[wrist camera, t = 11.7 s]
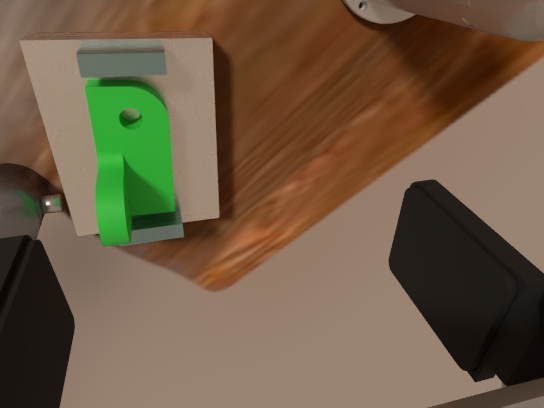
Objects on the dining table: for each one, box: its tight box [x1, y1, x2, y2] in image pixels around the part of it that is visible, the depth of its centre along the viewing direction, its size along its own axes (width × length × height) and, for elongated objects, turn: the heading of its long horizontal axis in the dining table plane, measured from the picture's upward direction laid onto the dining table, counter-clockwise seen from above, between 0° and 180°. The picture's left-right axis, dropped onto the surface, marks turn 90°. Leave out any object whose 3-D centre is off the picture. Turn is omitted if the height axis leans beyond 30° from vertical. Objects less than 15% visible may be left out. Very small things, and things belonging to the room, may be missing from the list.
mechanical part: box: [85, 80, 175, 246], centre depth 32 cm, size 12×6×8 cm, turn 176°
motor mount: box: [0, 31, 219, 246], centre depth 34 cm, size 22×18×6 cm
